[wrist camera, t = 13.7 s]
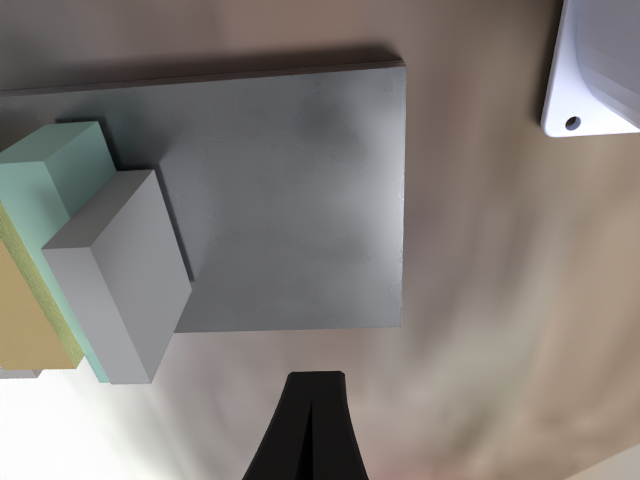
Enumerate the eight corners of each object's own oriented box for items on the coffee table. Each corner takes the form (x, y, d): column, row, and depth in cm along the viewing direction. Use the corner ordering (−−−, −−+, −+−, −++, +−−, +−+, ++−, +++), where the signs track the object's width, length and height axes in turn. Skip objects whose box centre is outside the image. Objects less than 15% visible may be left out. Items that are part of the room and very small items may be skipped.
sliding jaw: (137, 117, 16) (61, 184, 12) (202, 321, 22) (166, 417, 17) (45, 124, 16) (-63, 191, 12) (132, 323, 22) (79, 418, 18)
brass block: (64, 154, 17) (-14, 213, 14) (123, 292, 21) (75, 368, 17) (-9, 159, 18) (-104, 218, 14) (63, 294, 21) (3, 370, 18)
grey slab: (403, 59, 16) (426, 109, 11) (399, 312, 22) (412, 408, 18) (-117, 99, 17) (-279, 157, 13) (22, 323, 24) (-53, 413, 20)
